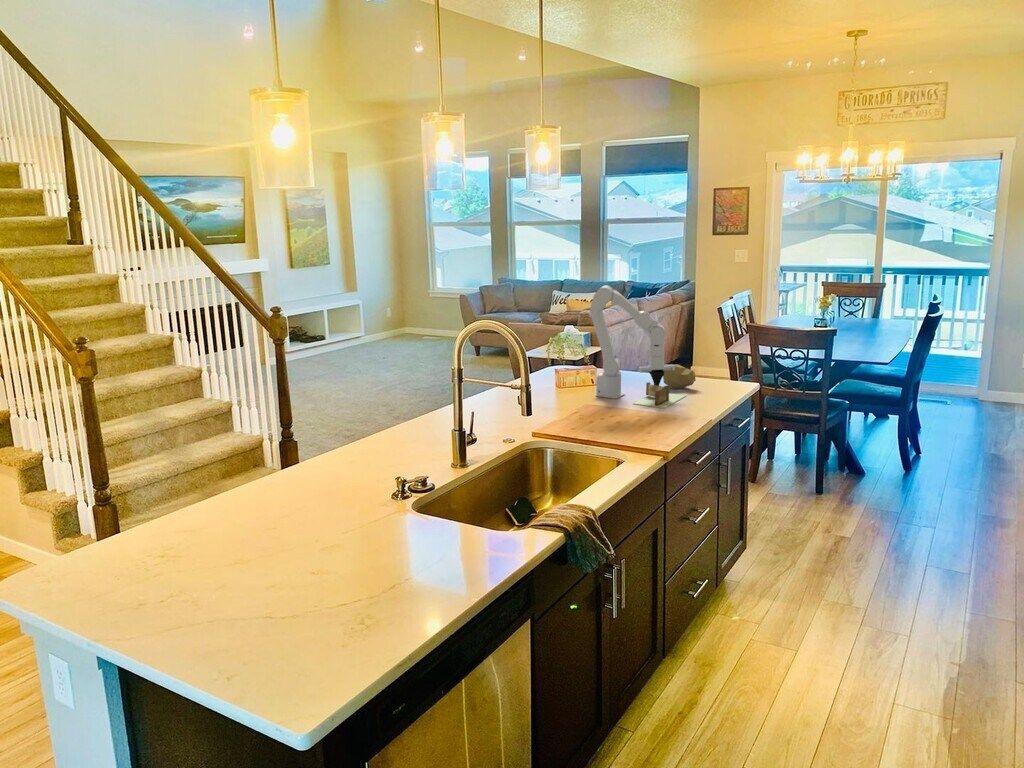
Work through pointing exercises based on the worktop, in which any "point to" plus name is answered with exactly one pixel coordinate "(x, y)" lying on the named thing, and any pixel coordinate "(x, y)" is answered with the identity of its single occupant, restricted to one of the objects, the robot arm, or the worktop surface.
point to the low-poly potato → (679, 377)
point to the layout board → (651, 401)
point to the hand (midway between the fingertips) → (656, 388)
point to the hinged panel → (652, 389)
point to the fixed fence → (661, 395)
